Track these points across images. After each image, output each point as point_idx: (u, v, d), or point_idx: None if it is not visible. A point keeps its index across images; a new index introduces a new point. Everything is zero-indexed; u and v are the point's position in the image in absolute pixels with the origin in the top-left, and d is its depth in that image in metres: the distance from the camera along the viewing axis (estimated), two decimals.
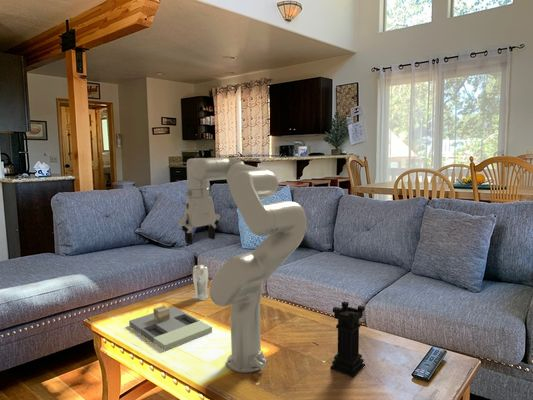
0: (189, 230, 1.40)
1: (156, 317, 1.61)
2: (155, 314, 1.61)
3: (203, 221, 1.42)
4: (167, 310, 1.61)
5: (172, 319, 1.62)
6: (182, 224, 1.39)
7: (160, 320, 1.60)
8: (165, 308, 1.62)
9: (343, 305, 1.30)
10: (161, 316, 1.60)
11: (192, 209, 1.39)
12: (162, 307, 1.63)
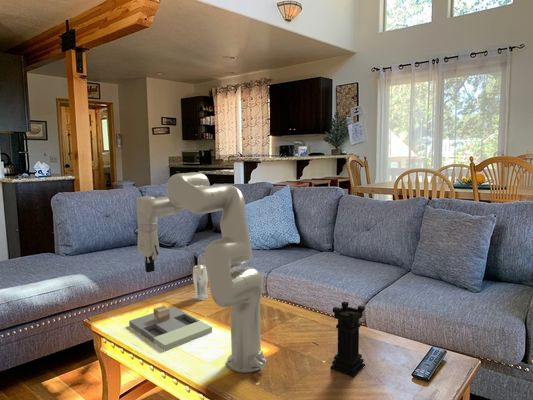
0: (145, 259, 1.65)
1: (156, 317, 1.61)
2: (155, 314, 1.61)
3: (142, 251, 1.63)
4: (167, 310, 1.61)
5: (172, 319, 1.62)
6: None
7: (160, 320, 1.60)
8: (165, 308, 1.62)
9: (343, 305, 1.30)
10: (161, 316, 1.60)
11: None
12: (162, 307, 1.63)
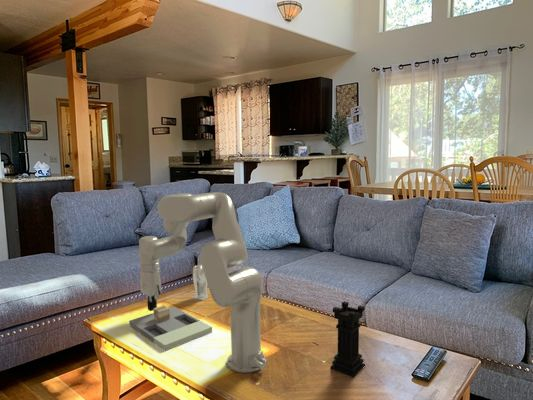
0: (147, 298, 1.67)
1: (156, 317, 1.61)
2: (155, 314, 1.61)
3: (144, 290, 1.65)
4: (167, 310, 1.61)
5: (172, 319, 1.62)
6: None
7: (160, 320, 1.60)
8: (165, 308, 1.62)
9: (343, 305, 1.30)
10: (161, 316, 1.60)
11: (140, 277, 1.68)
12: (162, 307, 1.63)
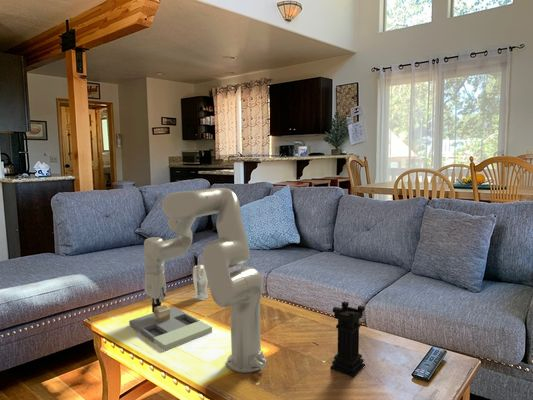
0: (151, 300, 1.64)
1: (156, 316, 1.61)
2: (155, 313, 1.61)
3: (149, 292, 1.62)
4: (168, 311, 1.61)
5: (172, 319, 1.62)
6: None
7: (160, 320, 1.60)
8: (166, 308, 1.61)
9: (343, 305, 1.30)
10: (162, 316, 1.60)
11: None
12: (163, 307, 1.62)
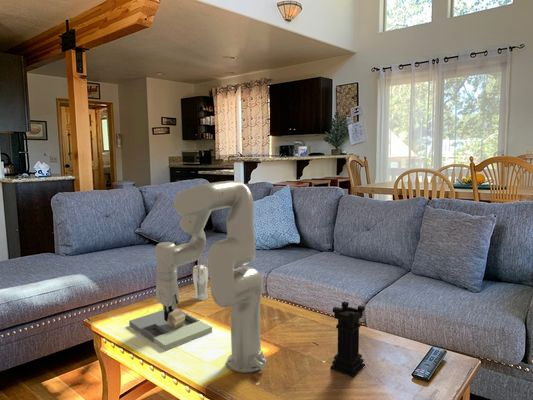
0: (164, 307, 1.57)
1: (170, 322, 1.54)
2: (170, 319, 1.54)
3: (161, 300, 1.55)
4: (183, 317, 1.55)
5: None
6: None
7: (175, 327, 1.54)
8: (181, 315, 1.55)
9: (343, 305, 1.30)
10: (177, 323, 1.54)
11: (156, 285, 1.58)
12: (178, 312, 1.56)
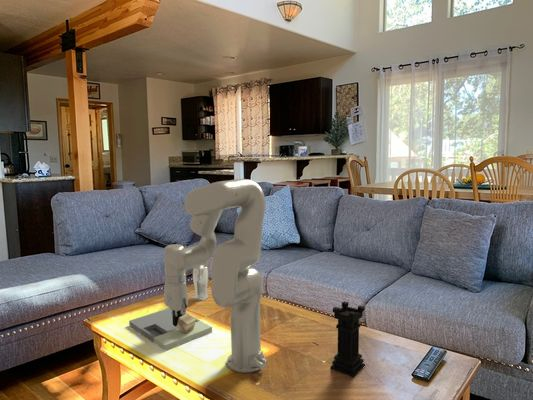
0: (172, 312, 1.53)
1: (181, 327, 1.50)
2: (180, 324, 1.50)
3: (169, 304, 1.51)
4: (194, 321, 1.51)
5: (172, 319, 1.62)
6: None
7: (186, 332, 1.50)
8: (192, 319, 1.51)
9: (343, 305, 1.30)
10: (188, 328, 1.50)
11: (164, 289, 1.53)
12: (188, 317, 1.52)
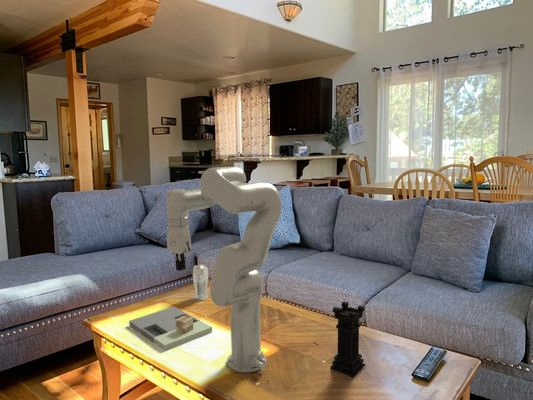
0: (175, 257, 1.55)
1: (180, 329, 1.51)
2: (178, 325, 1.51)
3: (172, 248, 1.52)
4: (191, 320, 1.52)
5: (172, 319, 1.62)
6: (173, 251, 1.57)
7: (185, 331, 1.50)
8: (188, 318, 1.52)
9: (343, 305, 1.30)
10: (186, 327, 1.50)
11: (167, 234, 1.55)
12: (184, 317, 1.53)
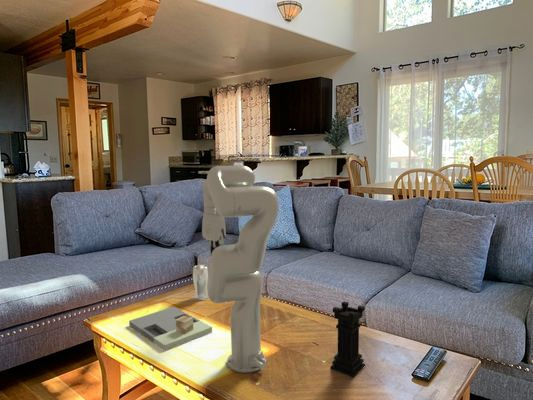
0: (210, 244, 1.60)
1: (180, 329, 1.51)
2: (178, 325, 1.51)
3: (208, 235, 1.58)
4: (191, 320, 1.52)
5: (172, 319, 1.62)
6: (207, 239, 1.62)
7: (185, 331, 1.50)
8: (188, 318, 1.52)
9: (343, 305, 1.30)
10: (186, 327, 1.50)
11: (202, 222, 1.60)
12: (184, 317, 1.53)
